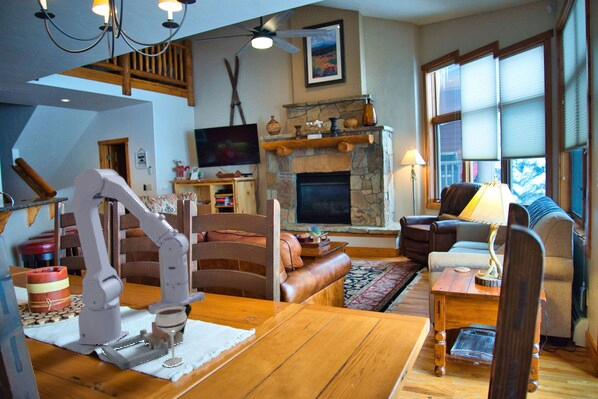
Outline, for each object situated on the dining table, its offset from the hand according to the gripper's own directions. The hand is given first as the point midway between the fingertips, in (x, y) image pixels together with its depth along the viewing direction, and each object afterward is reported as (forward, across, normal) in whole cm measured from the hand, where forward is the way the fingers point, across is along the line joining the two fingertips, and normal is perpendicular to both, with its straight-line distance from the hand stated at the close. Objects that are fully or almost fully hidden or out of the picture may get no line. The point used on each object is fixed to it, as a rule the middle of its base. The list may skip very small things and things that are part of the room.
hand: (179, 334), depth 104 cm
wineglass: (+1, -8, -12) cm, 14 cm away
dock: (+1, -11, 0) cm, 11 cm away
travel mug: (+1, +13, +30) cm, 33 cm away
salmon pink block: (-1, -4, 0) cm, 5 cm away
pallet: (+1, -4, 0) cm, 5 cm away
